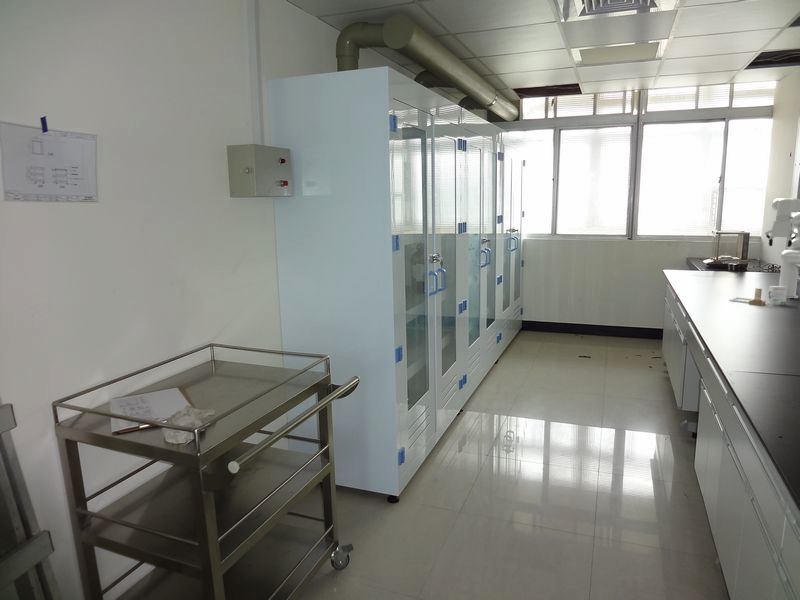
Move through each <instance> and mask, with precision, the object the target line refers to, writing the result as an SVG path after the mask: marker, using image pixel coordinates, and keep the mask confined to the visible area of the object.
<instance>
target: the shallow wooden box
mask: <svg viewBox="0 0 800 600" xmlns="http://www.w3.org/2000/svg"><path fill="white" fill-rule="evenodd" d="M751 299H752V300H750V301H749V303H748V305H751V306H760V307H762V306H764V305H766V303H767V301H766V300H763V299H761V302H757V301H754V298H751Z"/></svg>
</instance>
